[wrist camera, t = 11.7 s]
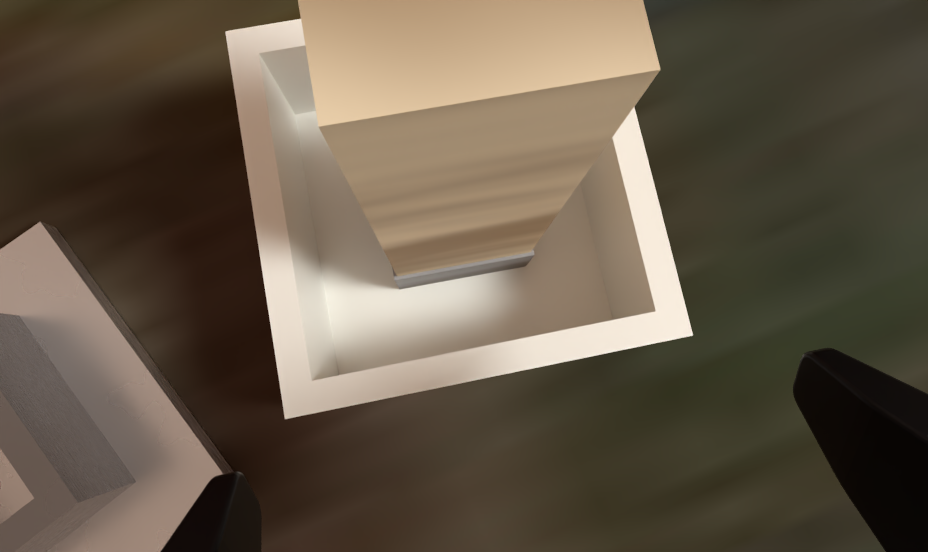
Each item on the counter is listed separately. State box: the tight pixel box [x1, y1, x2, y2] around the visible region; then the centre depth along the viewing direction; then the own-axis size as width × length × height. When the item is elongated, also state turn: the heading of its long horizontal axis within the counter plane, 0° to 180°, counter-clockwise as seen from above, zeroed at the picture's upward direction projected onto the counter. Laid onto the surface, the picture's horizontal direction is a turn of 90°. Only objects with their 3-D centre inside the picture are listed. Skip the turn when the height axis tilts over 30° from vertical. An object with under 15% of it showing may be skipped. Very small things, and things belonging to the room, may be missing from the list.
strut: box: [298, 0, 660, 289], centre depth 14 cm, size 4×4×13 cm
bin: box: [225, 19, 693, 419], centre depth 19 cm, size 11×11×5 cm
